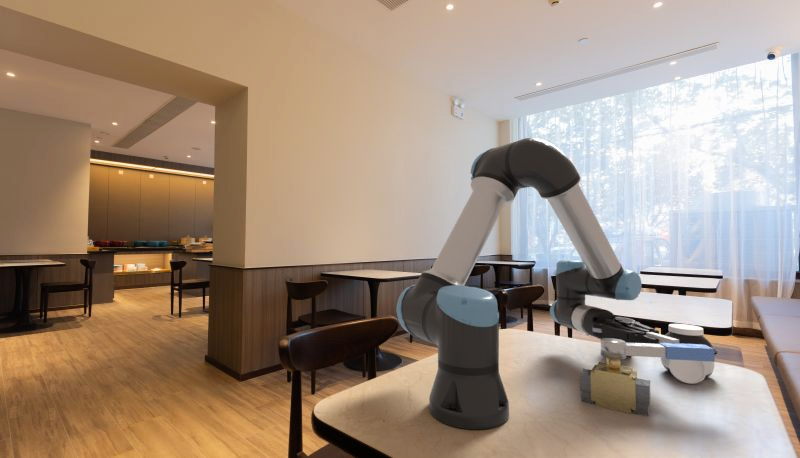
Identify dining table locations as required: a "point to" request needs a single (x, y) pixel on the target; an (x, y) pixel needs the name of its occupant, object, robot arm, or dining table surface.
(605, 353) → the lever
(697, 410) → the dining table surface
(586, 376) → the valve body
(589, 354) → the dining table surface
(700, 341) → the spread jar
